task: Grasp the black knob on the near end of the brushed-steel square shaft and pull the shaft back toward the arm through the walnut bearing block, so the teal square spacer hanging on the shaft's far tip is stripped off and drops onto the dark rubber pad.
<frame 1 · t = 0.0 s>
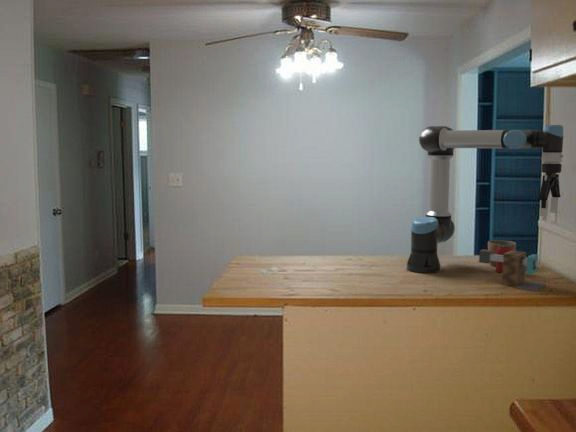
hand: (548, 214, 244), 28 cm above the table, fingers open, 13 cm apart
beer can: (503, 272, 264), on the table
planter: (500, 265, 277), on the table
bearing block: (513, 283, 242), on the table
spacer: (531, 272, 237), point 6 cm above the table, touching shaft
shaft: (508, 259, 242), point 10 cm above the table, slide at 0.0 cm, touching spacer
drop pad: (531, 286, 238), on the table
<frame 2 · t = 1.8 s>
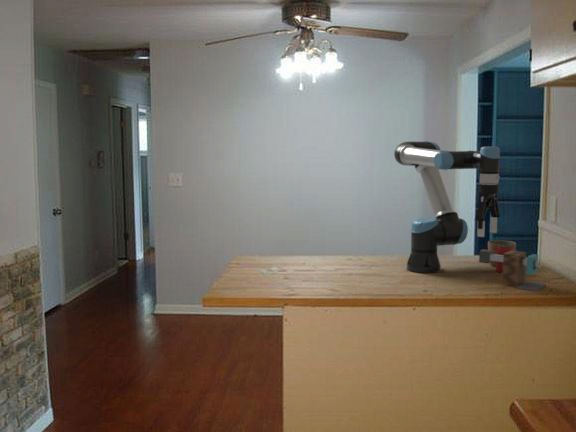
hand: (487, 234, 247), 19 cm above the table, fingers open, 13 cm apart
nothing on the table moved.
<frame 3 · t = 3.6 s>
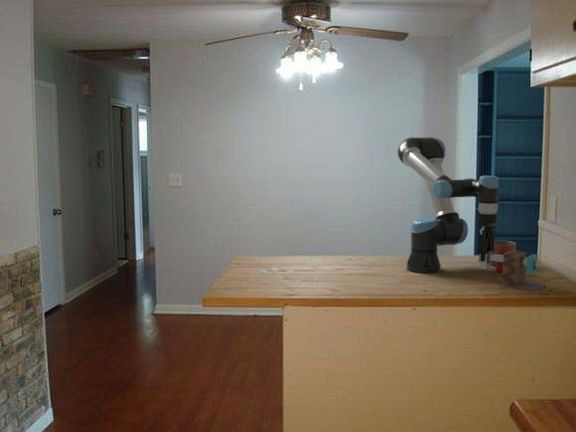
hand: (485, 267, 249), 5 cm above the table, fingers closed on shaft, 4 cm apart
shaft: (508, 259, 242), point 10 cm above the table, slide at 0.0 cm, touching gripper, spacer
everything else where it was.
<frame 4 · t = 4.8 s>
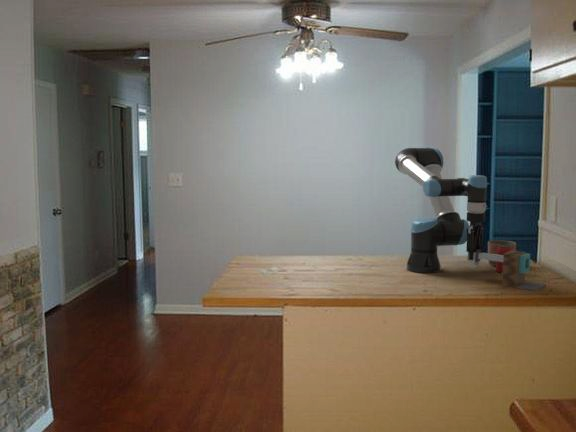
hand: (473, 266, 252), 5 cm above the table, fingers closed on shaft, 4 cm apart
spacer: (524, 271, 239), point 6 cm above the table, touching bearing block, shaft
shaft: (496, 257, 246), point 10 cm above the table, slide at 5.0 cm, touching gripper, spacer
everything else where it was.
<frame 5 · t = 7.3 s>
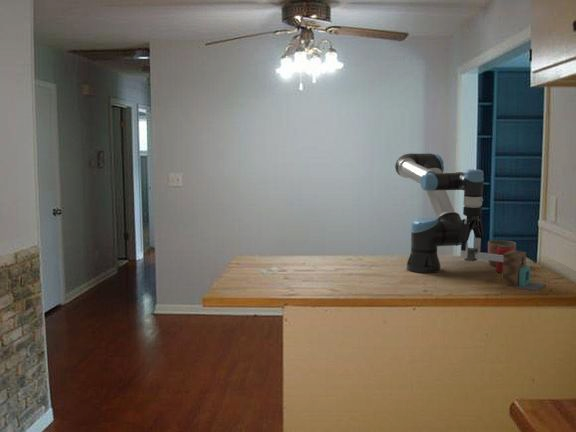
hand: (470, 255, 253), 10 cm above the table, fingers open, 13 cm apart
spacer: (524, 284, 239), point 1 cm above the table, touching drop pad
shaft: (492, 257, 247), point 10 cm above the table, slide at 6.5 cm
everything else where it was.
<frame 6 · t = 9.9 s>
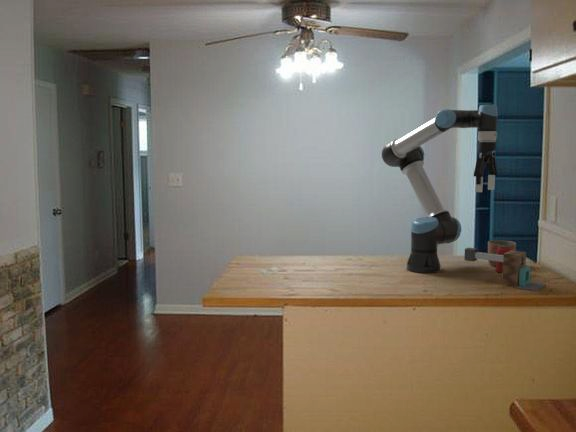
hand: (485, 191, 255), 37 cm above the table, fingers open, 13 cm apart
nothing on the table moved.
at the end: shaft slide at 6.5 cm; spacer inside the target area (4.2 cm from its centre), point 0.6 cm above the table; spacer touching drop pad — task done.
